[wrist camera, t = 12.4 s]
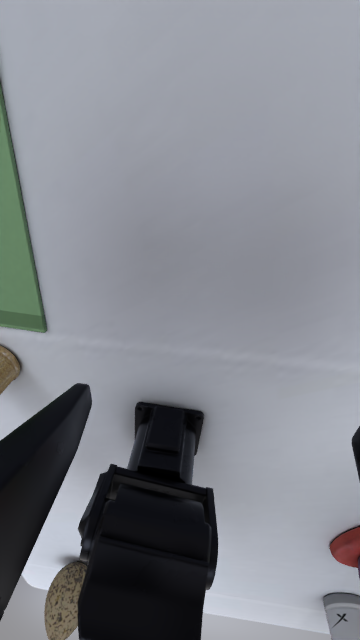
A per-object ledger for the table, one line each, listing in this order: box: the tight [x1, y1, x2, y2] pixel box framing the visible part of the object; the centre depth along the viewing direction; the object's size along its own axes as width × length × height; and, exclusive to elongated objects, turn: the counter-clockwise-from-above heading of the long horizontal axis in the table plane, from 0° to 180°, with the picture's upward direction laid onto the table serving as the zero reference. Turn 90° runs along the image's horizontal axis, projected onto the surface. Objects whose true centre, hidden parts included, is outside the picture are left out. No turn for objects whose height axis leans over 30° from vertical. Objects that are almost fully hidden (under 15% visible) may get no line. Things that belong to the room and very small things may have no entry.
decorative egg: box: [45, 562, 87, 640], centre depth 48 cm, size 7×7×10 cm
